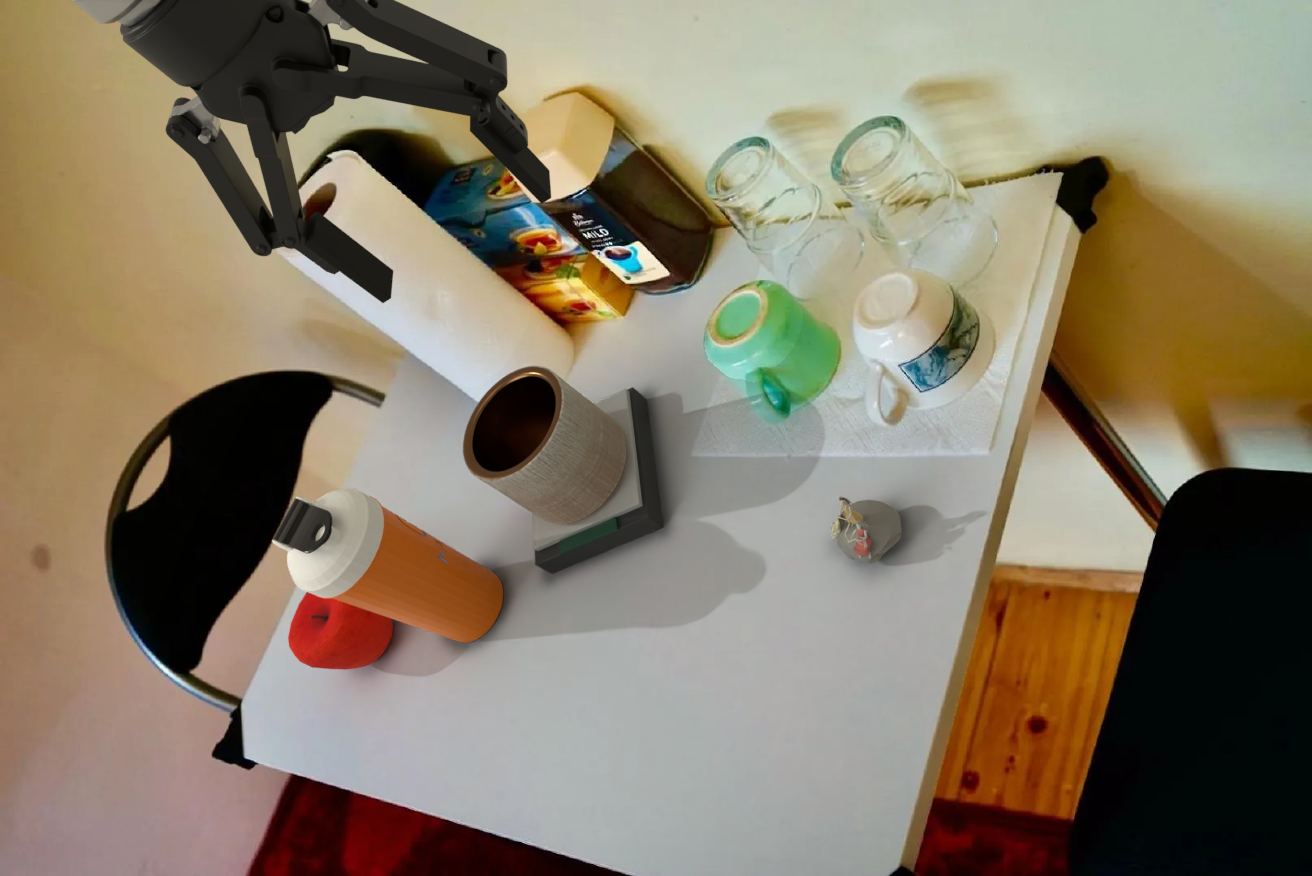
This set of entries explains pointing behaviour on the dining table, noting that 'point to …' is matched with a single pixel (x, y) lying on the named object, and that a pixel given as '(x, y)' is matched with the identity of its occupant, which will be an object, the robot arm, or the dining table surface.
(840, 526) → the figurine
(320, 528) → the shaker bottle
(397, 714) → the dining table surface
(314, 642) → the apple
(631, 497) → the scale
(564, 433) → the planter
